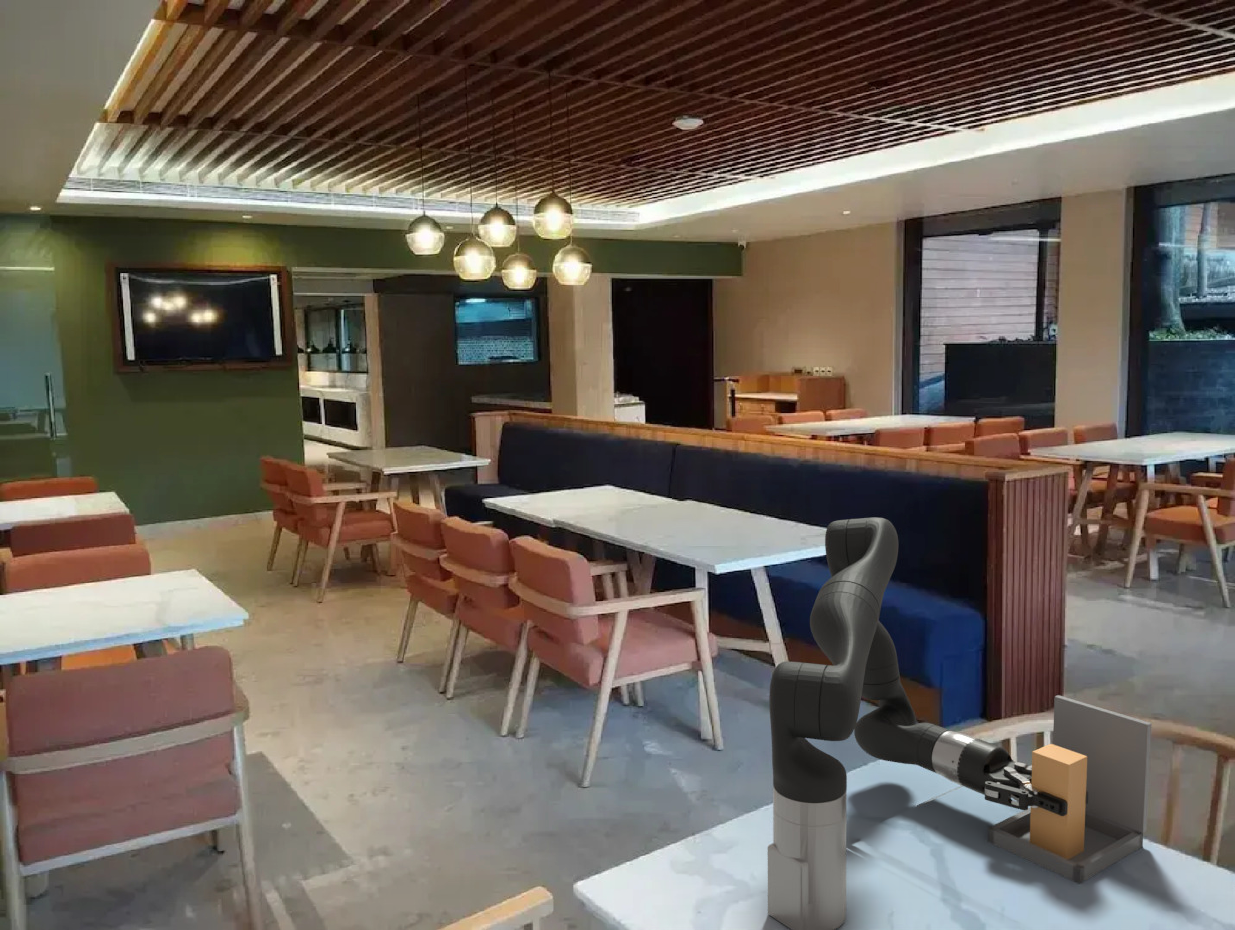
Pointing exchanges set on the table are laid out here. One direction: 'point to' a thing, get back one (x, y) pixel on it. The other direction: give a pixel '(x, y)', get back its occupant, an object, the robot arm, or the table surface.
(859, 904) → the table surface
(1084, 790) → the block
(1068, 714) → the case
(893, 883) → the table surface
